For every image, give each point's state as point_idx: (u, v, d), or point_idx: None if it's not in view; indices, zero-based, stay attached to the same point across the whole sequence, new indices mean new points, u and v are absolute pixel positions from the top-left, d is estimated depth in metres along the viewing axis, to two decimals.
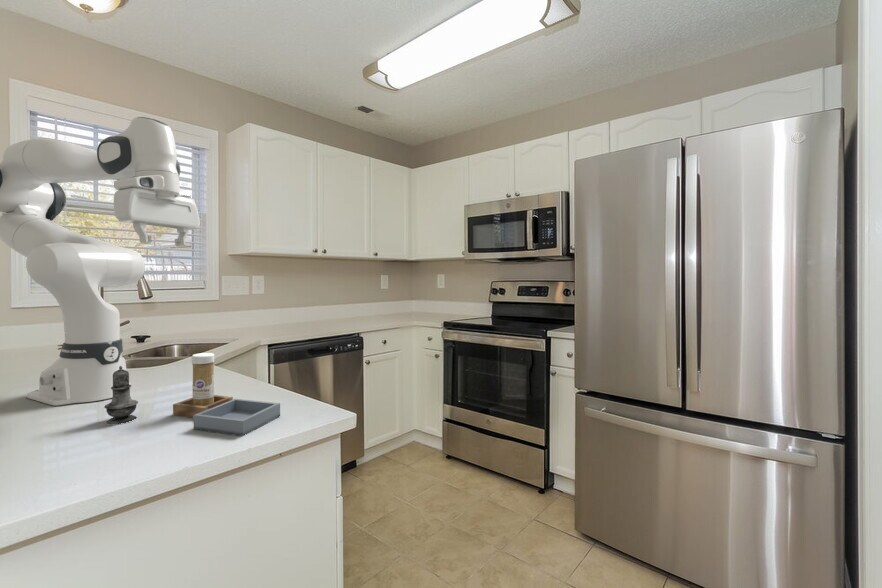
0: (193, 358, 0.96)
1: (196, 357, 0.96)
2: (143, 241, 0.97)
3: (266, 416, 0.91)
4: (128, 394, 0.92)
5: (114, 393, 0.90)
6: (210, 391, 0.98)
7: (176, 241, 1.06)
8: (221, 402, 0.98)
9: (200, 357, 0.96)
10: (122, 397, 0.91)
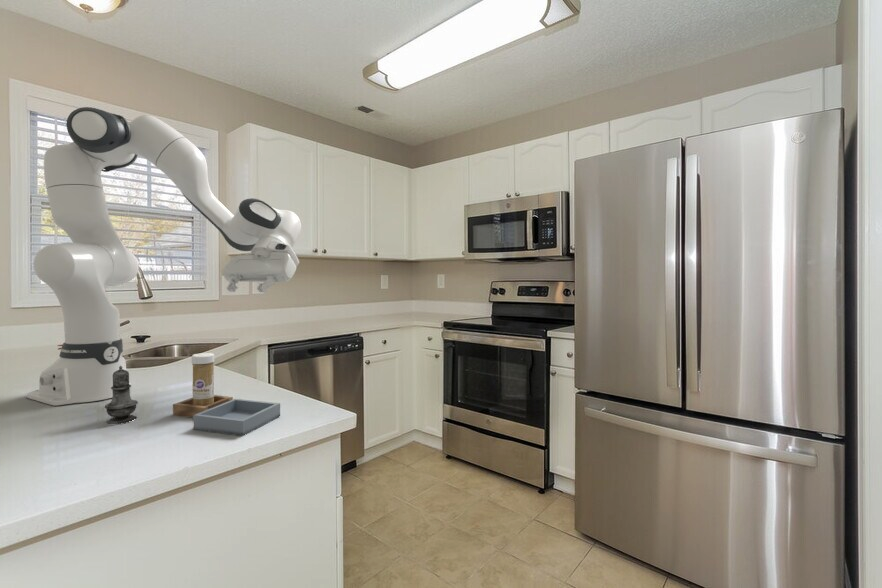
0: (193, 358, 0.96)
1: (196, 357, 0.96)
2: (264, 290, 1.10)
3: (266, 416, 0.91)
4: (128, 394, 0.92)
5: (114, 393, 0.90)
6: (210, 391, 0.98)
7: (233, 286, 1.13)
8: (221, 402, 0.98)
9: (200, 357, 0.96)
10: (122, 397, 0.91)
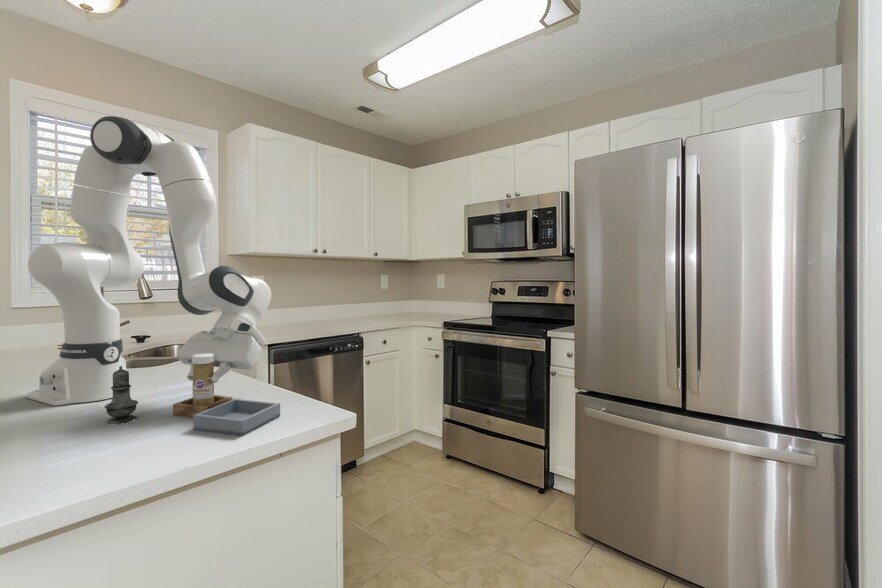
0: (193, 358, 0.96)
1: (196, 357, 0.96)
2: (215, 380, 0.97)
3: (266, 416, 0.91)
4: (128, 394, 0.92)
5: (114, 393, 0.90)
6: (210, 391, 0.98)
7: None
8: (221, 402, 0.98)
9: (200, 357, 0.96)
10: (122, 397, 0.91)
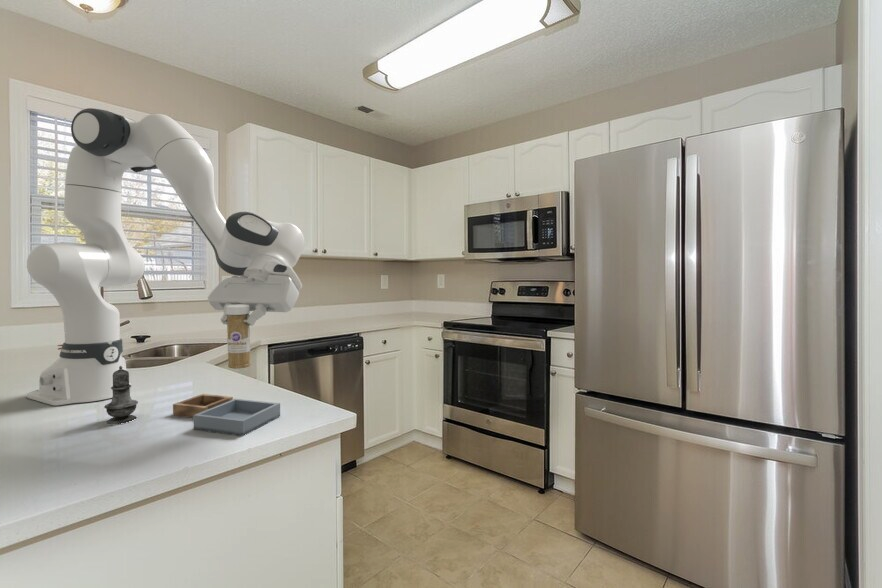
0: (228, 308, 0.88)
1: (231, 307, 0.88)
2: (251, 323, 0.90)
3: (266, 416, 0.91)
4: (128, 394, 0.92)
5: (114, 393, 0.90)
6: (246, 344, 0.90)
7: None
8: (221, 402, 0.98)
9: (235, 307, 0.88)
10: (122, 397, 0.91)
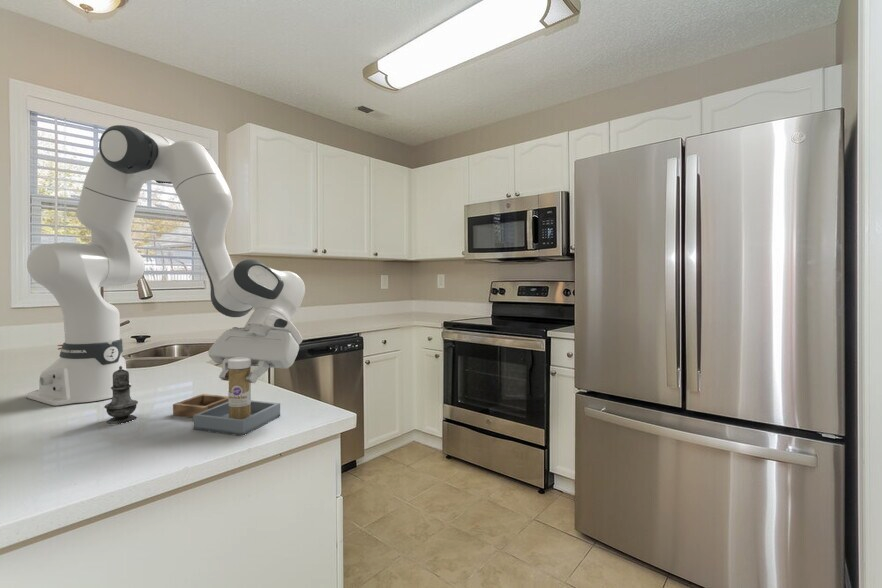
0: (230, 363, 0.89)
1: (233, 362, 0.89)
2: (254, 380, 0.90)
3: (266, 416, 0.91)
4: (128, 394, 0.92)
5: (114, 393, 0.90)
6: (247, 398, 0.91)
7: (227, 373, 0.92)
8: (221, 402, 0.98)
9: (237, 362, 0.89)
10: (122, 397, 0.91)
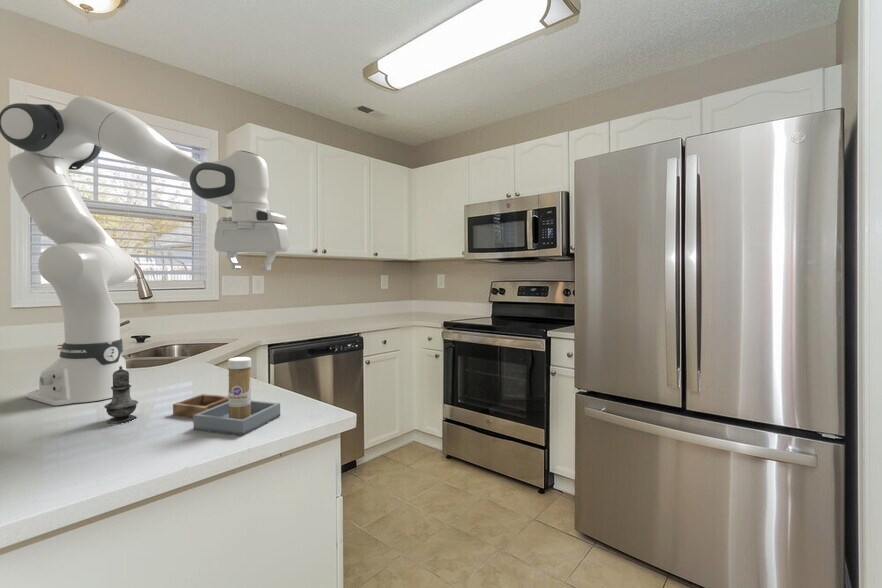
0: (230, 363, 0.89)
1: (233, 362, 0.89)
2: (269, 268, 1.09)
3: (266, 416, 0.91)
4: (128, 394, 0.92)
5: (114, 393, 0.90)
6: (247, 398, 0.91)
7: (236, 265, 1.11)
8: (221, 402, 0.98)
9: (237, 362, 0.89)
10: (122, 397, 0.91)
